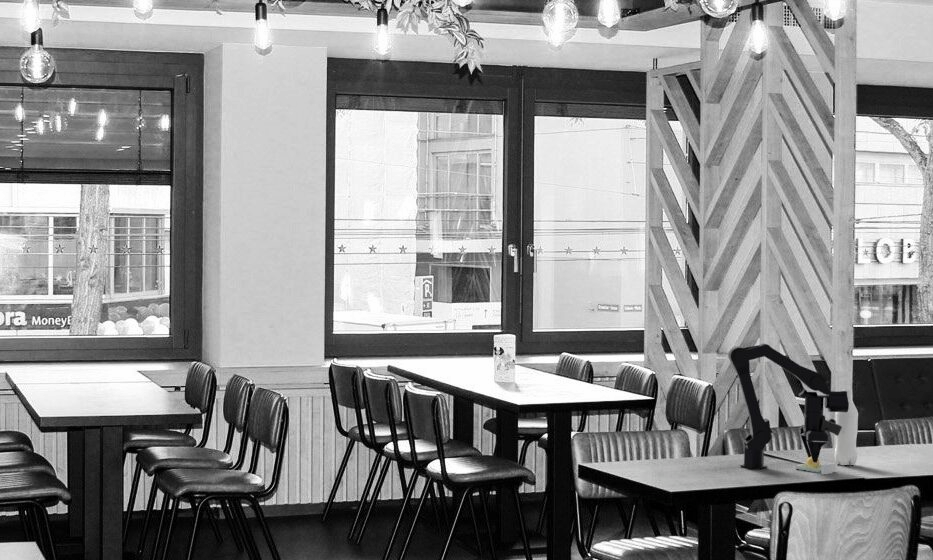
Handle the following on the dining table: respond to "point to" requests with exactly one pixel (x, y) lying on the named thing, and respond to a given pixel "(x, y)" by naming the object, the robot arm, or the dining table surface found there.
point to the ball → (812, 463)
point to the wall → (828, 468)
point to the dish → (808, 468)
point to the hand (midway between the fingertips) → (812, 460)
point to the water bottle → (847, 434)
